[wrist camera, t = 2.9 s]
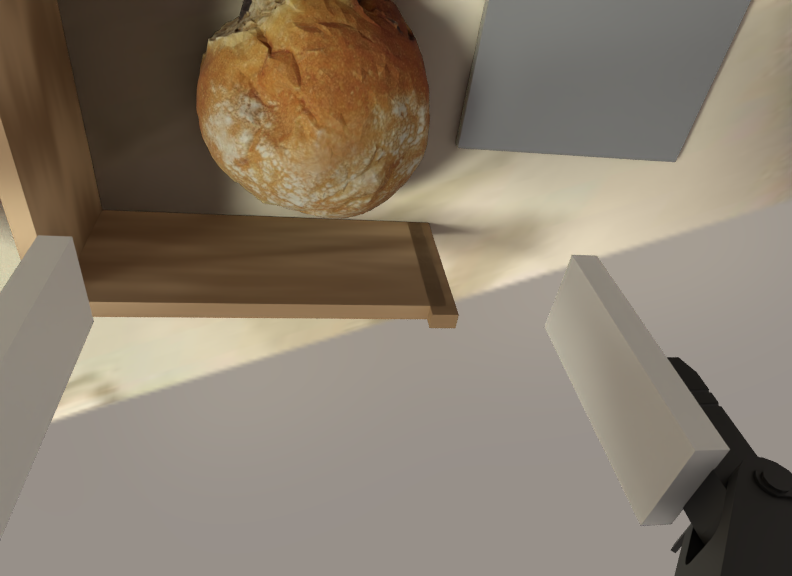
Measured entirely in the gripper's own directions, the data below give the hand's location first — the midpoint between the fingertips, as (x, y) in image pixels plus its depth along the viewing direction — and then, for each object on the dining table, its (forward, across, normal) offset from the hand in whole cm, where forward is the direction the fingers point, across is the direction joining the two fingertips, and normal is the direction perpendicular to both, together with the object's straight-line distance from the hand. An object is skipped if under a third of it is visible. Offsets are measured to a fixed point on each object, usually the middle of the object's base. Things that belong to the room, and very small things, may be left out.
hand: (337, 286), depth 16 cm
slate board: (+14, +13, +4) cm, 19 cm away
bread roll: (+14, 0, +1) cm, 14 cm away
